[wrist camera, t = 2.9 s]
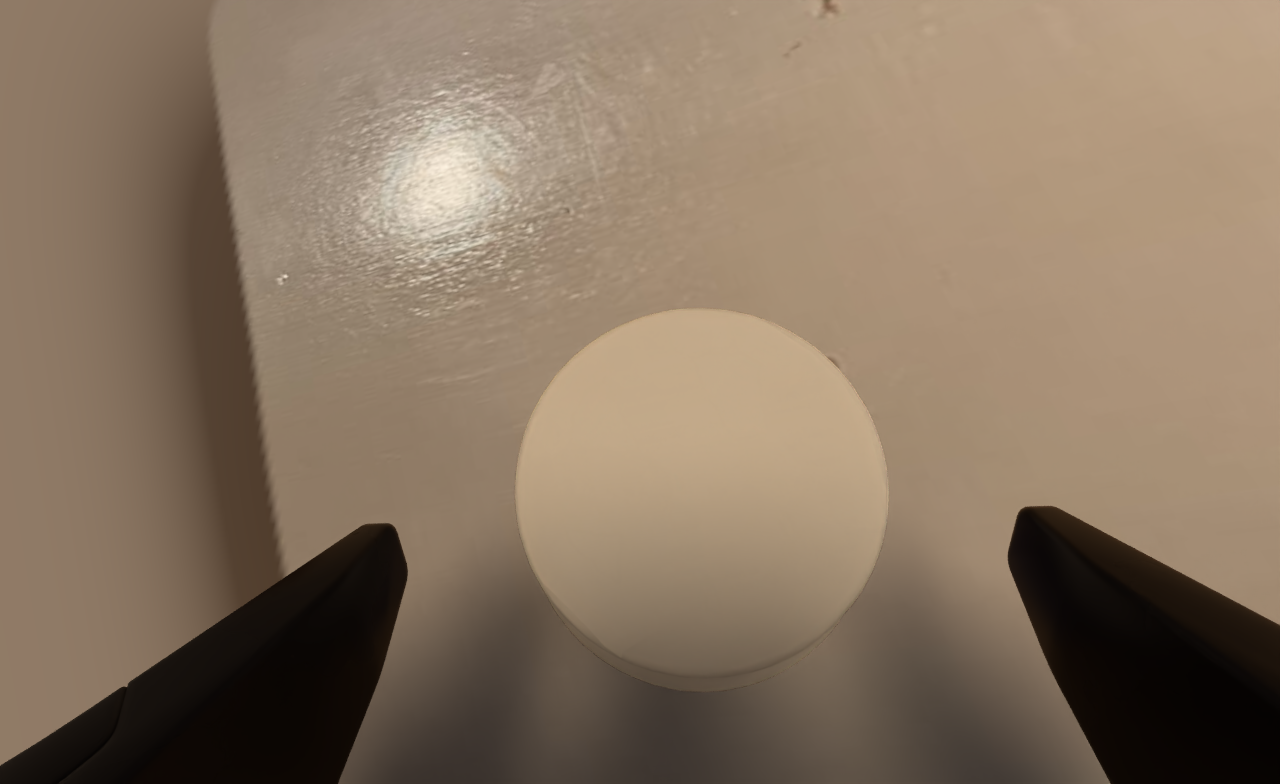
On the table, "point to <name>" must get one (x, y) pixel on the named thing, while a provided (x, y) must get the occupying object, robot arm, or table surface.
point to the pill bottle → (701, 498)
